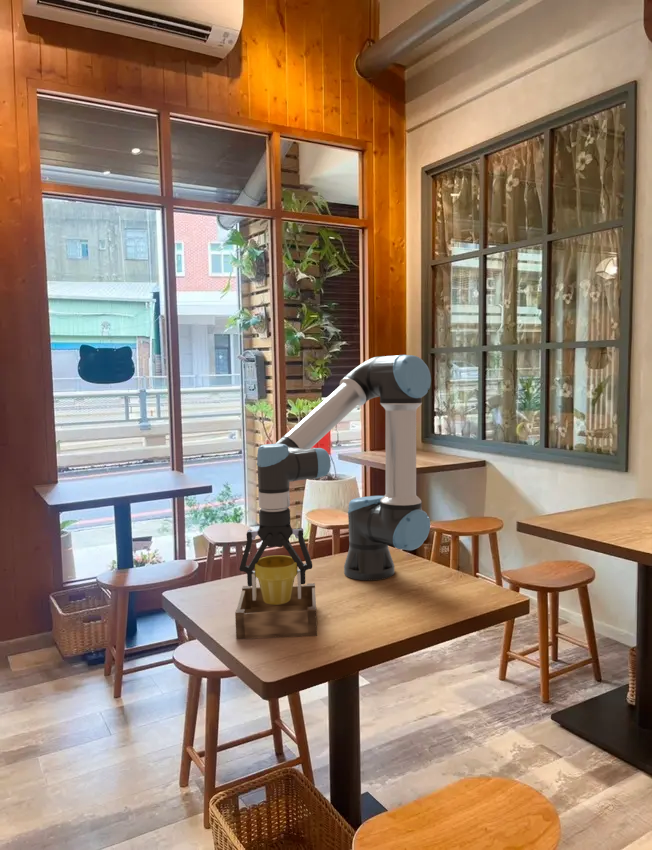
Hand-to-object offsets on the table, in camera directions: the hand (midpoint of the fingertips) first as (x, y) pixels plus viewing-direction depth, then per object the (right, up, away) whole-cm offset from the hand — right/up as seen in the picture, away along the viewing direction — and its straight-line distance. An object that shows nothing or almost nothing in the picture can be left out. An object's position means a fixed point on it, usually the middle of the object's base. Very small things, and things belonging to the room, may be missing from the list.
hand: (277, 597), depth 157 cm
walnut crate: (0, -6, +1) cm, 6 cm away
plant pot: (0, -1, 0) cm, 1 cm away
